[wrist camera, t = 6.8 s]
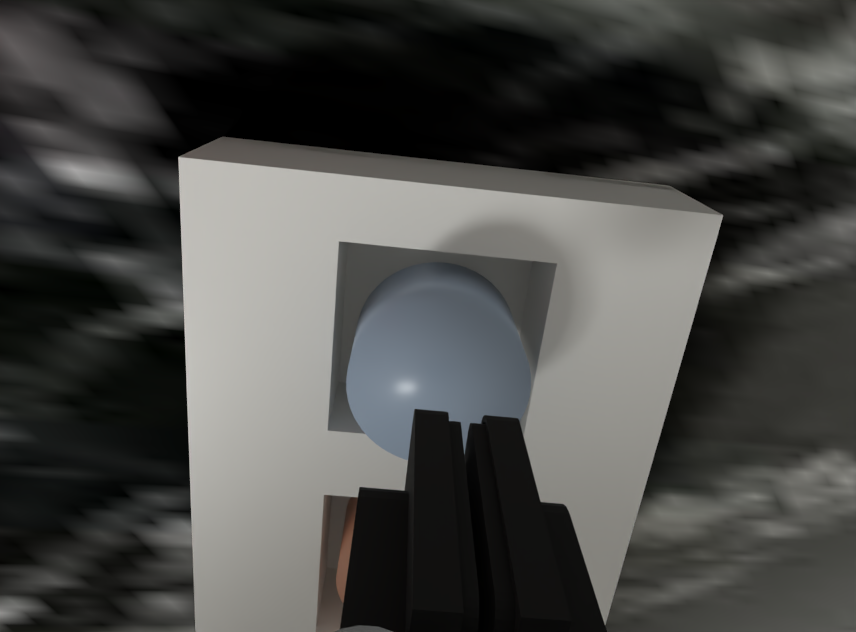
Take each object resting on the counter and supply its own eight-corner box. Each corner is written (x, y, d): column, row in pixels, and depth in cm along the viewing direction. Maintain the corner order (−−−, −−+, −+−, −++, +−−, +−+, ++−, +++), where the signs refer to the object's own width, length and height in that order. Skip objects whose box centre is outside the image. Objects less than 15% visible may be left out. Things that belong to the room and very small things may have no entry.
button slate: (501, 412, 17) (515, 471, 15) (351, 399, 17) (340, 457, 15) (526, 270, 16) (546, 311, 13) (362, 254, 16) (352, 292, 13)
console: (531, 732, 26) (547, 826, 23) (228, 714, 25) (201, 808, 22) (669, 185, 18) (723, 215, 15) (222, 136, 17) (178, 157, 14)
